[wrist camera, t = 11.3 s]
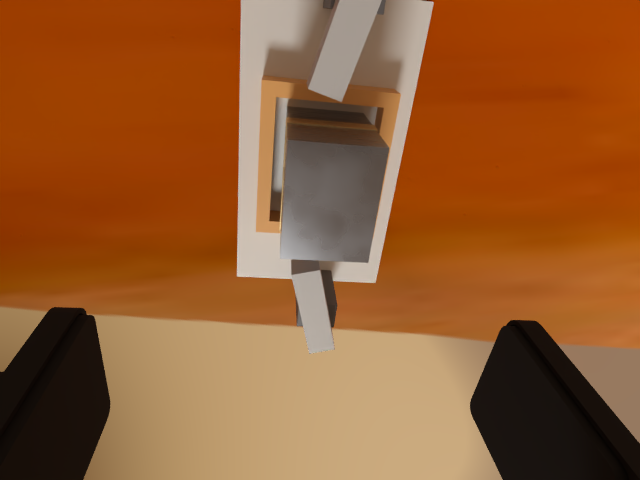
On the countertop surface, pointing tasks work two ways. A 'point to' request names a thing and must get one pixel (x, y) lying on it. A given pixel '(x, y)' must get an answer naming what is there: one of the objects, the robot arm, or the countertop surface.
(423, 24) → the stand
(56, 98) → the countertop surface
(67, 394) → the robot arm
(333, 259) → the block
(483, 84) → the countertop surface
